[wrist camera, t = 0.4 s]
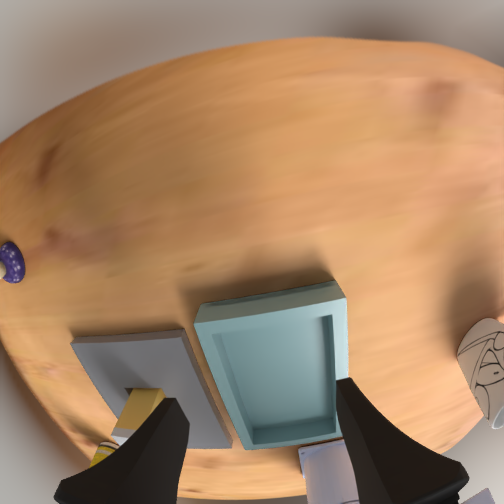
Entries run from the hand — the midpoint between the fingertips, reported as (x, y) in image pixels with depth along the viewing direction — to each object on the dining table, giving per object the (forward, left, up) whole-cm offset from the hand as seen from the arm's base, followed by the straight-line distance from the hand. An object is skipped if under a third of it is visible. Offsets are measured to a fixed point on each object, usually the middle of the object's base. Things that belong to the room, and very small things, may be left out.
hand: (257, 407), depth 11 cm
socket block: (-9, +12, -10) cm, 18 cm away
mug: (-10, -24, -10) cm, 28 cm away
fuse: (-9, +12, -10) cm, 18 cm away
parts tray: (-7, -1, -10) cm, 12 cm away
